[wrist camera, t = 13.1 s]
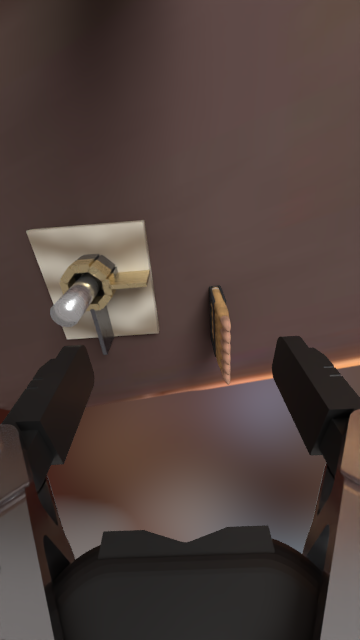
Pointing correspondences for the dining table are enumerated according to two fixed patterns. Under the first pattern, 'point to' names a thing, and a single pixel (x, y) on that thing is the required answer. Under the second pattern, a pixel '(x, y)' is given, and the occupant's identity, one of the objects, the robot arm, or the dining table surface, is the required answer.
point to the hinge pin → (75, 300)
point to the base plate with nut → (101, 276)
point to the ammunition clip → (220, 330)
